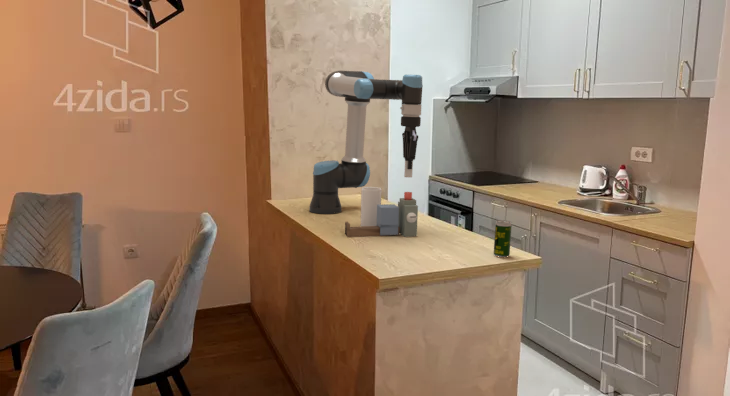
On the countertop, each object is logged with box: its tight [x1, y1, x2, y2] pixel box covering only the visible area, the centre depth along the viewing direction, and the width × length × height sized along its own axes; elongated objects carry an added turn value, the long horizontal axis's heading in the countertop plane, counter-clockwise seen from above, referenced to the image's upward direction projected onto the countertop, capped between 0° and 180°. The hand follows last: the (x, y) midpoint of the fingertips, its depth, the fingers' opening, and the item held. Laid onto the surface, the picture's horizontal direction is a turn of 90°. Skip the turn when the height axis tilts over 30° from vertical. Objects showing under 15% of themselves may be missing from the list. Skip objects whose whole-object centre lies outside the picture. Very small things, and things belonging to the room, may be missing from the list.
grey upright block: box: [397, 197, 419, 238], centre depth 219 cm, size 11×5×14 cm, turn 13°
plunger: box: [403, 191, 413, 200], centre depth 218 cm, size 3×3×4 cm
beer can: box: [493, 219, 512, 258], centre depth 190 cm, size 5×5×12 cm
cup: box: [360, 186, 382, 226], centre depth 231 cm, size 8×8×16 cm
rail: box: [344, 221, 401, 238], centre depth 217 cm, size 5×21×5 cm, turn 103°
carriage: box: [377, 203, 399, 236], centre depth 218 cm, size 6×7×11 cm
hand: (408, 177), depth 217 cm, fingers closed
